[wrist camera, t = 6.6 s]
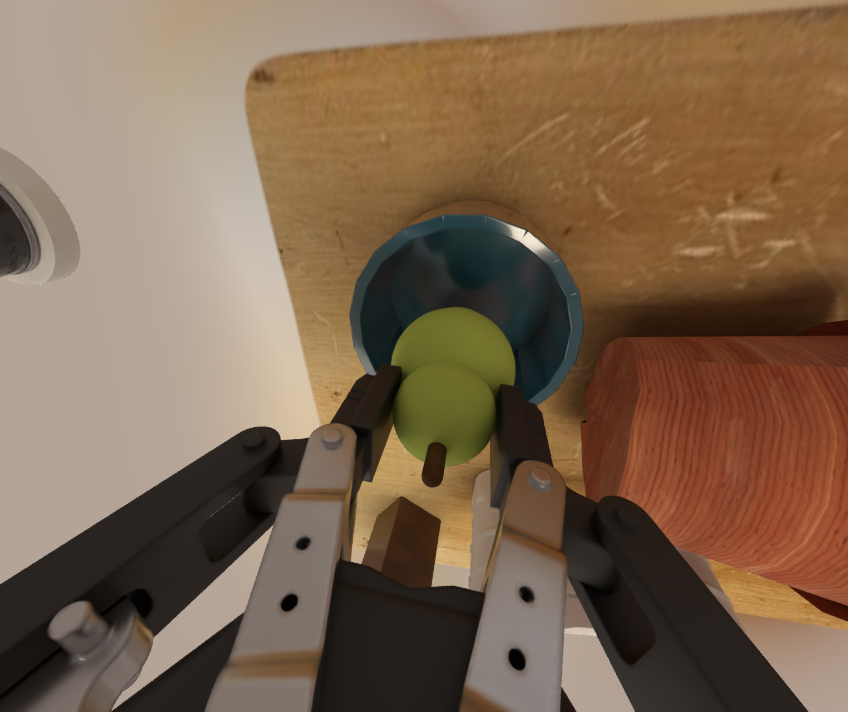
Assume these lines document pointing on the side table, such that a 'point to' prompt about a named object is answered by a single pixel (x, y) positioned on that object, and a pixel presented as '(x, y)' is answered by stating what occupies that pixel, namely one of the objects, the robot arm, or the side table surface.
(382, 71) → the side table surface
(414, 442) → the pear
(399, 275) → the teal bowl
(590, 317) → the side table surface
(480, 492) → the binoculars
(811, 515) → the potted plant
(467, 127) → the side table surface
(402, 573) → the pedestal
